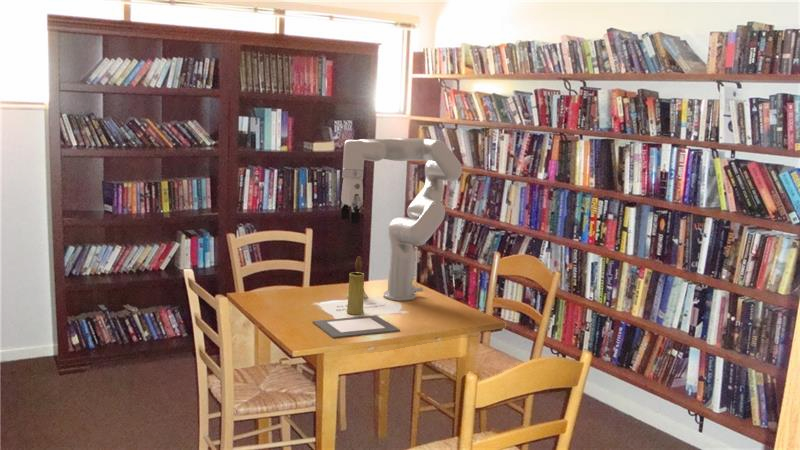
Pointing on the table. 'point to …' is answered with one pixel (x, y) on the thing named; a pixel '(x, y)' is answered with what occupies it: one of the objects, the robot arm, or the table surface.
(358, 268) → the hand bell
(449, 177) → the robot arm
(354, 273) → the vase
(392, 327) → the grey picture frame
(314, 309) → the table surface
